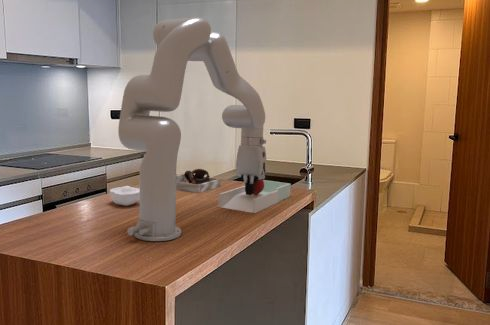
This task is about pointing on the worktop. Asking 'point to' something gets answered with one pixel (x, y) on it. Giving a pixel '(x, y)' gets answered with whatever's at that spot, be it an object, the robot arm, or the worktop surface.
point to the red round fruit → (259, 186)
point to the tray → (281, 187)
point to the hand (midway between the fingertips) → (249, 194)
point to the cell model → (125, 195)
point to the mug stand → (196, 188)
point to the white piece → (247, 200)
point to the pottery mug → (197, 176)
